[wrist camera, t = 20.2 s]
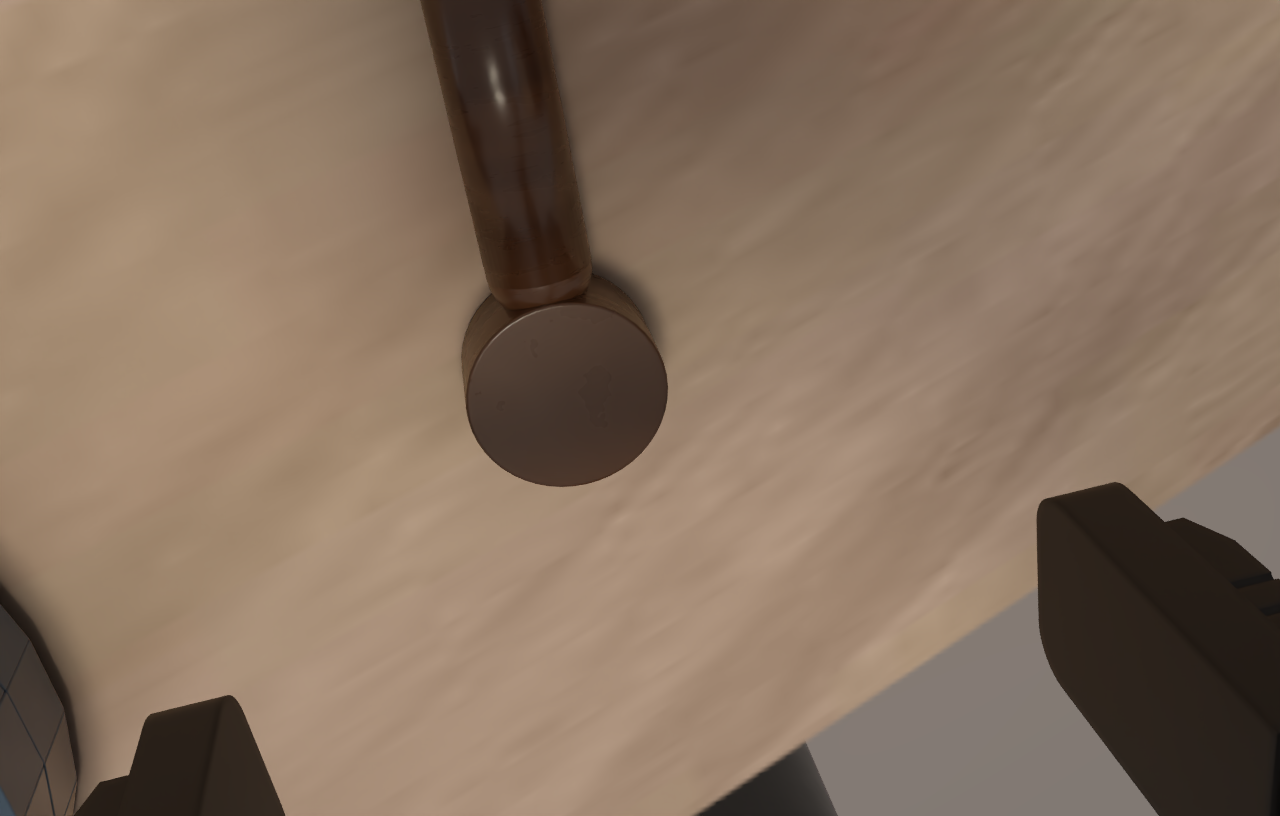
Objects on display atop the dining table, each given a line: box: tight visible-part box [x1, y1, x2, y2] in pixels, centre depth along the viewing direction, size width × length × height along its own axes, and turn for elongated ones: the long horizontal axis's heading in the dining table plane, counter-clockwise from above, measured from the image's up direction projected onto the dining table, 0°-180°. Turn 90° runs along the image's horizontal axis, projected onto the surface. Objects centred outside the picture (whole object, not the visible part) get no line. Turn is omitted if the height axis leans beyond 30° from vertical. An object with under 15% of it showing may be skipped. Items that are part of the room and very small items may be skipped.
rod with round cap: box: [420, 0, 668, 487], centre depth 29 cm, size 16×5×3 cm, turn 10°
